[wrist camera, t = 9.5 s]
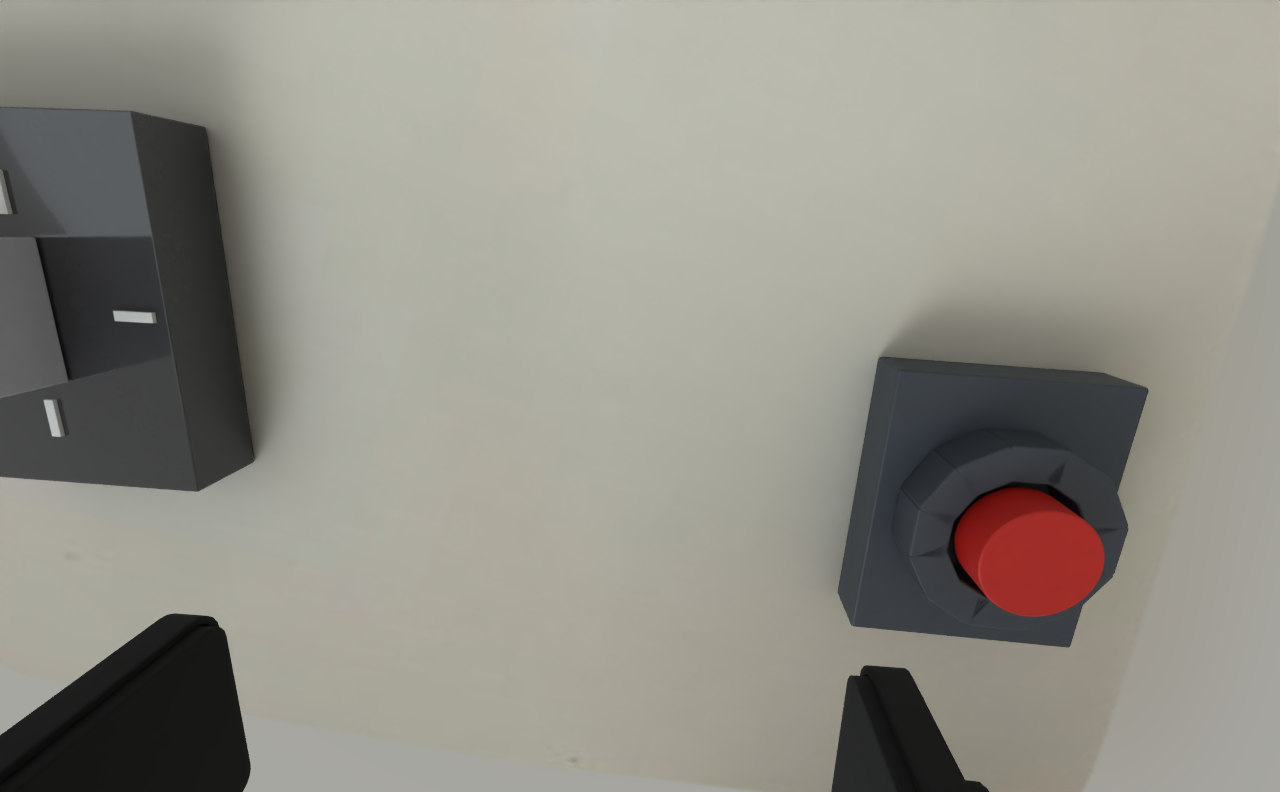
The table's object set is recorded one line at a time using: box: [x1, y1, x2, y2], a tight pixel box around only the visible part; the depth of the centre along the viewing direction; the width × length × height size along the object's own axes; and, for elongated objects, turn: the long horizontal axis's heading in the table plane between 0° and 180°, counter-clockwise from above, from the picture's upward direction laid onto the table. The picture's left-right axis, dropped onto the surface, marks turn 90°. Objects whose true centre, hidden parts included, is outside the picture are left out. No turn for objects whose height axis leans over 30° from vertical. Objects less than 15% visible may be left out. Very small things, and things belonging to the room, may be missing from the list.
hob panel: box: [0, 106, 254, 492], centre depth 22 cm, size 13×10×3 cm
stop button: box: [954, 487, 1105, 617], centre depth 18 cm, size 4×4×2 cm
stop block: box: [838, 357, 1148, 647], centre depth 21 cm, size 10×8×4 cm
